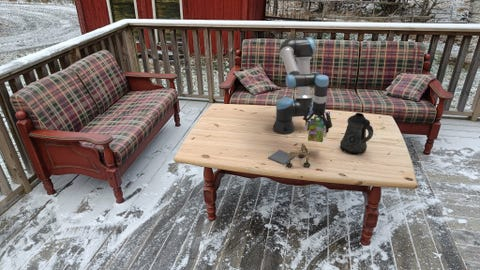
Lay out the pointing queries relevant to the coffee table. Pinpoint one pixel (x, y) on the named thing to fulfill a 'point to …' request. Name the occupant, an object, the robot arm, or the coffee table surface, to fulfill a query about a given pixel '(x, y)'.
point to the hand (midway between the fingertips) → (316, 133)
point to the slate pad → (280, 157)
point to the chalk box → (316, 129)
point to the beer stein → (356, 135)
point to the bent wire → (300, 155)
